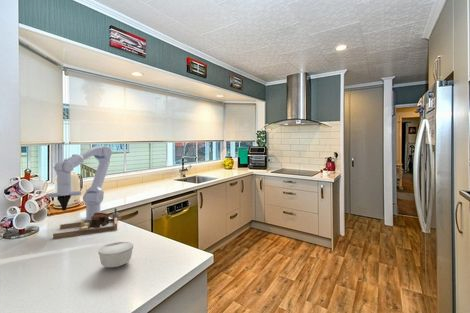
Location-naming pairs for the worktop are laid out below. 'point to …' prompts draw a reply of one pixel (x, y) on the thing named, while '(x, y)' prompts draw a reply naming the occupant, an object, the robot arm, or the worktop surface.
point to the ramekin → (115, 254)
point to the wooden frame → (86, 231)
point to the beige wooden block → (84, 225)
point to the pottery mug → (99, 220)
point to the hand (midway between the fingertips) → (64, 210)
